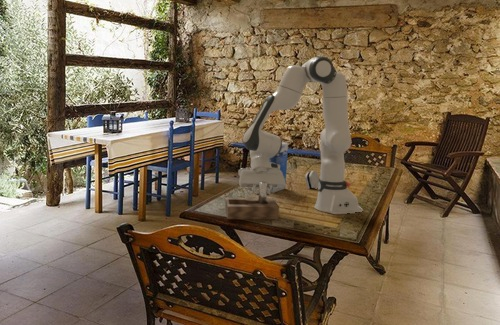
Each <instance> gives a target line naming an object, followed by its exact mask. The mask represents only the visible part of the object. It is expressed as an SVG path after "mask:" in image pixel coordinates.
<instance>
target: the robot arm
mask: <svg viewBox="0 0 500 325" xmlns="http://www.w3.org/2000/svg"><path fill="white" fill-rule="evenodd" d="M308 83H319V84H320V85H321V88H322V115H323V116H322V117H323V121H324V128H323V129H322V130H321V132H320V135H319V139H320V173H319V174H320V175H319V183H318V189H317V190H318V193H317V196H316V202H315V204H314V209H316V210H318V211H320V212H323V213H329V214H332V215H347V213H350V214H356V213H355V212H362V211H363V208H362V207H361V206H360V205H359V200H358V197H357V195H355V194H354V193H353V192H352V191H351V190H349V189H348V188H350V187H351V186H352V184H351V183H350V182H348V181H346V180H345V170H346V169H345V168H346V161H345V156H344V155H345V154H344V153H346V152H347V151H348V150H350V147H351V146H352V142H353V141H352V137H351V132H350V123H349V115H348V85H347V80H346V76H345V75H344V73H342V72H339V71H337V69H336V68H335V66H334V64H333V62H332V60H331V59H329V58H328V57H326V56H322V55H321V56H320V55H319V56H314V57H312V58H310V59H307V60H306V61H305V62H303V63H302V64H301V65H297V64H294V65H293V64H291V65H290V66H288V67H287V68H286V70H285V71H284V73H283V75H282V77H281V80H280V81H279V84H278V86H277V89H276V90H275V91H274V92H273V94H270V95H268V96H267V97H266V98H265V99H264V101H263V103H262V104H261V105H260V107H259V110H258V111H257V113H256V114H255V116H254V119H253V120H252V122H251V123H250V125H249V127H248V128H247V129H246V131H245V132H244V133H243V137H242V143H243V145H244V147H245V148H246V150H248V151H249V157H250V167H245V168H244V167H241V168H240V169H238V172H237V173H238V176H239V180H238V181H239V186H240V188H251V189H252V191H253V192H254V195H255V196H259V189H257V188H259V182H267V187H268V189H269V190H267V196H271V192H270V191H271V189H272V188H282V187H283V186H284V177H283V173H282V171H281V170H280V165H278V164H275V163H272V162H269V159H270V158H273V157H274V156H276V155H277V154H279V153H280V152H281V150H282V143H283V141H282V139H281V138H282V137H281V136H278V135H277V134H273V133H271V132H267V131H265V130H263V129H262V128H263V127H264V126H265V124H266V121H267V119H268V118H269V116H270V115H271V114H272V113H273V112H275V111H285V110H291V109H293V108H295V107H296V106H297V105H298V103H299V102H300V100H301V97H302V96H303V95H302V94H303V91H304V90H305V87H306V85H307V84H308ZM347 187H348V188H347ZM363 212H364V211H363ZM363 212H362V213H363Z"/></svg>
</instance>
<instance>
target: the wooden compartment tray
mask: <svg viewBox="0 0 500 325" xmlns="http://www.w3.org/2000/svg"><path fill="white" fill-rule="evenodd" d="M224 201H225V202H224V203H225V205H224V210H225V214H226V219H227V220H279V213H280V205H279V204H278V203H277V202H276V200H275V199H274V197H267V200H266V204H258V197H225V199H224Z"/></svg>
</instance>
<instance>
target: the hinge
mask: <svg viewBox="0 0 500 325" xmlns="http://www.w3.org/2000/svg"><path fill="white" fill-rule="evenodd" d="M304 178H305V182H306V188H307V189H308V190H310V189H314V190H315V189H317V188H318V183H319V179H320V175H319V173H318V171H317V170H311V171H308V172H306V174H305V177H304ZM317 190H318V189H317Z"/></svg>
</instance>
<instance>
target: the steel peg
mask: <svg viewBox="0 0 500 325" xmlns="http://www.w3.org/2000/svg"><path fill="white" fill-rule="evenodd" d="M258 190H259V195H258V196H257V198H258V204H266V200H267V198H268V197H267V196H268V195H267V182H259V187H258Z"/></svg>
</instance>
